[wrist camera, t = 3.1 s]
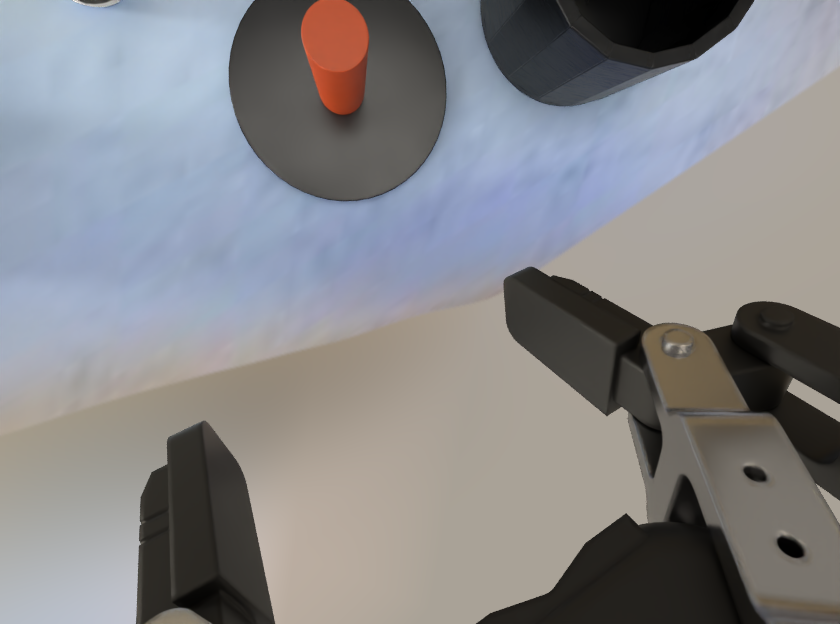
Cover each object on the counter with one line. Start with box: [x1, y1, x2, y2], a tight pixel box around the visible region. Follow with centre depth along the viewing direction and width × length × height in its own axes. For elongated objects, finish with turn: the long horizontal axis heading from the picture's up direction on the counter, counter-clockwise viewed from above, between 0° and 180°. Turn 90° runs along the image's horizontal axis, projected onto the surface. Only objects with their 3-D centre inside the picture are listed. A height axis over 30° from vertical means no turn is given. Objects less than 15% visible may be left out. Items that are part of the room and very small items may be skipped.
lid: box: [229, 0, 446, 201], centre depth 21 cm, size 12×12×10 cm
